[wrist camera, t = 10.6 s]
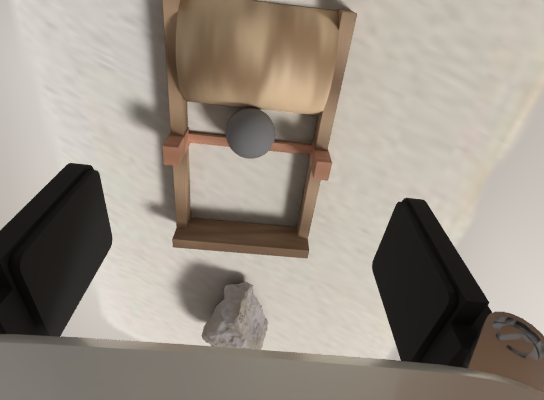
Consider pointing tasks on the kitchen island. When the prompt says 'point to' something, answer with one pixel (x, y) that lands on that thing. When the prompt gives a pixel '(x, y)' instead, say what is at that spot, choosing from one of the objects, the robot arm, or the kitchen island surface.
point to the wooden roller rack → (252, 99)
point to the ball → (250, 133)
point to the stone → (237, 320)
